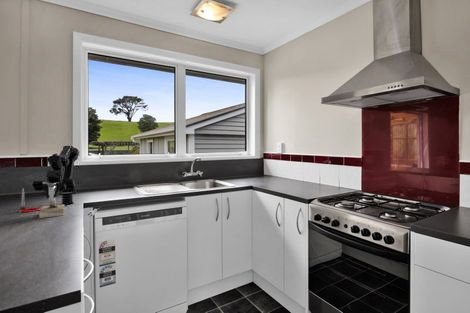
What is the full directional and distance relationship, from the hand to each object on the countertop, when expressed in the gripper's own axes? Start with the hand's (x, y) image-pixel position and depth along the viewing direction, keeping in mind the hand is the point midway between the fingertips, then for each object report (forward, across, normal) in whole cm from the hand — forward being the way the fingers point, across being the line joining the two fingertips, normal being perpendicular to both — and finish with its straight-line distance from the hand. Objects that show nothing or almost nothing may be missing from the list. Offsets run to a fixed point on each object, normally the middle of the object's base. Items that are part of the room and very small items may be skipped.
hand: (51, 197), depth 133 cm
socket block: (+6, 0, +7) cm, 9 cm away
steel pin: (+4, 0, +6) cm, 7 cm away
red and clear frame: (-4, -14, +18) cm, 23 cm away
